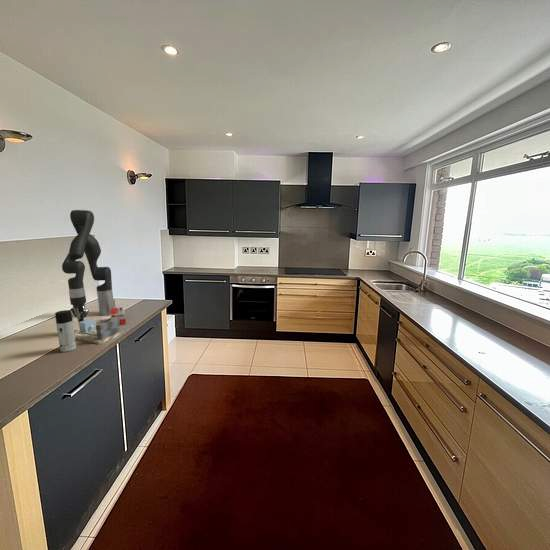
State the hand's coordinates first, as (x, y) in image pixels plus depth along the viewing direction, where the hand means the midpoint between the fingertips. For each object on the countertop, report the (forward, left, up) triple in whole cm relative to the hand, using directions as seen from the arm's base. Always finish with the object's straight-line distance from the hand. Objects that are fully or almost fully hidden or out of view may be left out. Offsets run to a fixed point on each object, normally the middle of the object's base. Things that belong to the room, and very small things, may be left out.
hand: (81, 324), depth 168 cm
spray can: (+18, +15, -5) cm, 24 cm away
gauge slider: (+2, +5, -3) cm, 7 cm away
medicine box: (-21, +4, -6) cm, 22 cm away
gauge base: (0, +11, -5) cm, 12 cm away
